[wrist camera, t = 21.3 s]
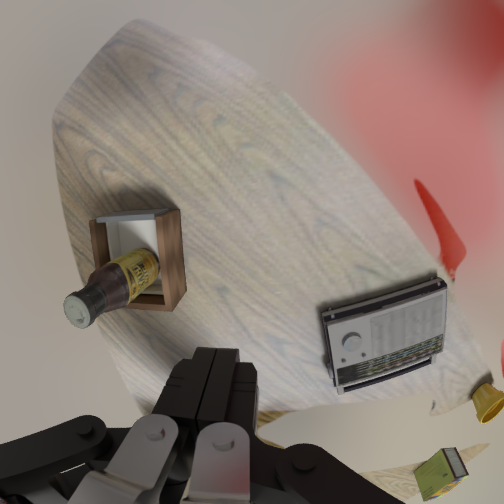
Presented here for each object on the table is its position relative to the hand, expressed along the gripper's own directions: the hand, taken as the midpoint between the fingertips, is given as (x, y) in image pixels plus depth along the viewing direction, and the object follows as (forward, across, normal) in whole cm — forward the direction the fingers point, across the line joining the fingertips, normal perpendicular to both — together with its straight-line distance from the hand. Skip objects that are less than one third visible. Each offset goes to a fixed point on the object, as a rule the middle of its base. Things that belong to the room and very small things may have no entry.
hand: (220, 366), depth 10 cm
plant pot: (+35, -65, +48) cm, 88 cm away
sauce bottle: (+33, +19, +6) cm, 38 cm away
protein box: (+35, -64, +84) cm, 111 cm away
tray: (+34, +19, +4) cm, 39 cm away
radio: (+36, -24, +22) cm, 48 cm away
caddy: (+35, +19, +5) cm, 40 cm away
